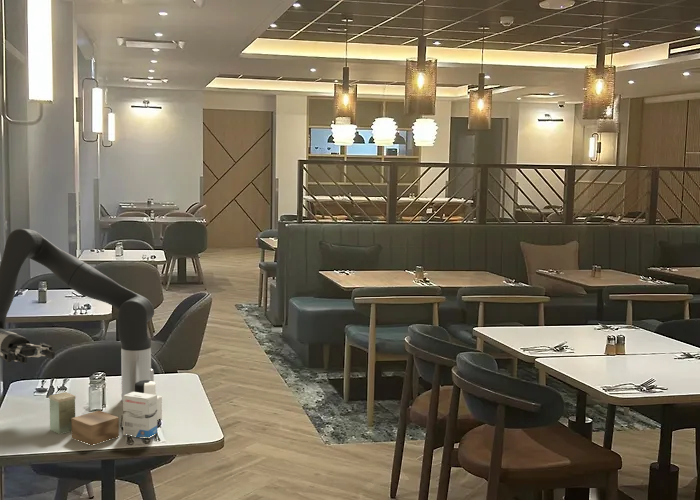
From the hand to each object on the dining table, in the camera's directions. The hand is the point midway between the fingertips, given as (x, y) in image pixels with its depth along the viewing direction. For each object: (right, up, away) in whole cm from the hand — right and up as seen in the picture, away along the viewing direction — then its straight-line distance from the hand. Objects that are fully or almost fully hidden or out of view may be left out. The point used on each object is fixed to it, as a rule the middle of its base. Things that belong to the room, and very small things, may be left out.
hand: (39, 357), depth 233 cm
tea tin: (+9, -20, -6) cm, 22 cm away
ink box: (+32, -21, -8) cm, 39 cm away
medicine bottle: (+30, -20, +4) cm, 36 cm away
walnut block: (+20, -21, -11) cm, 31 cm away
